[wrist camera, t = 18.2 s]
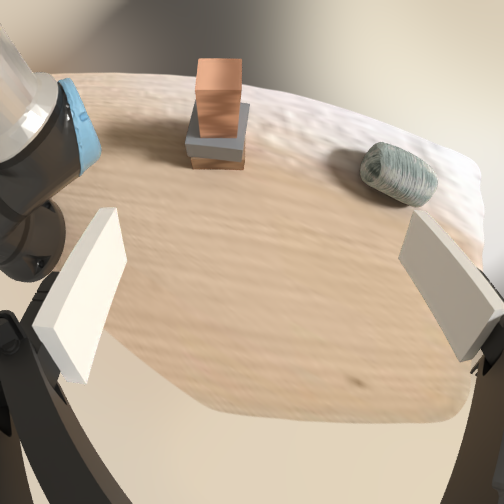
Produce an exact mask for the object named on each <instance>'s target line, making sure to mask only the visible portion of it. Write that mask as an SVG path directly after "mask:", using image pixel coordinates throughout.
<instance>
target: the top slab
mask: <svg viewBox="0 0 504 504" xmlns="http://www.w3.org/2000/svg"><path fill="white" fill-rule="evenodd" d="M249 106H250V104H247V103H240V111H239V121H238V132H237V138H200V130H199V121H198V112H197V103H196V100H195V104H194V108H193V112H192V116H191V120H190V124H189V128H188V132H187V136H186V140H185V147H186V151H187V155H188V156H189V157H199V158H209V159H218V160H226V161H234V162H241V161H242V154H243V147H244V141H245V134H246V127H247V121H248V114H249Z"/></svg>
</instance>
